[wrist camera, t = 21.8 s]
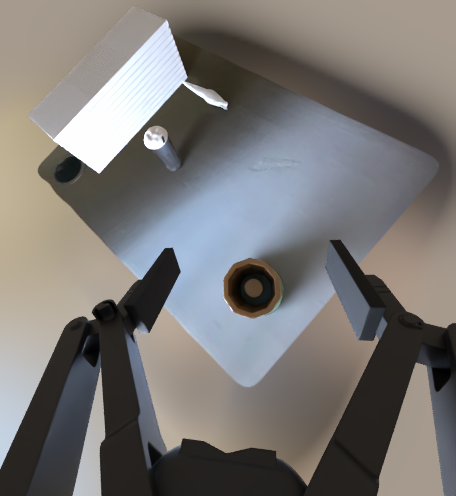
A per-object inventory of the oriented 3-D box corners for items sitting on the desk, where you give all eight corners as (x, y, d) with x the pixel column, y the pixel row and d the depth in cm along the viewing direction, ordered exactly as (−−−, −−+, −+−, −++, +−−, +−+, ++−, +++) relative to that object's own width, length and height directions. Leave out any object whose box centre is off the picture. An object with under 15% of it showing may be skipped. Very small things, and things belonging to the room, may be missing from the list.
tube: (283, 283, 33) (292, 278, 22) (261, 317, 32) (259, 331, 21) (250, 262, 35) (243, 248, 23) (229, 294, 34) (211, 295, 23)
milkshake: (178, 179, 43) (153, 146, 33) (161, 168, 44) (132, 134, 35) (191, 163, 43) (170, 125, 33) (173, 152, 45) (148, 114, 35)
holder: (293, 282, 34) (302, 278, 25) (264, 327, 33) (264, 339, 25) (249, 254, 36) (244, 242, 28) (221, 295, 36) (207, 296, 27)
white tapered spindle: (232, 105, 44) (231, 97, 43) (224, 114, 44) (223, 106, 42) (186, 81, 49) (183, 73, 47) (179, 89, 48) (176, 81, 47)
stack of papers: (99, 173, 47) (53, 139, 37) (76, 152, 50) (27, 115, 40) (187, 77, 49) (166, 19, 38) (159, 62, 52) (133, 5, 41)
